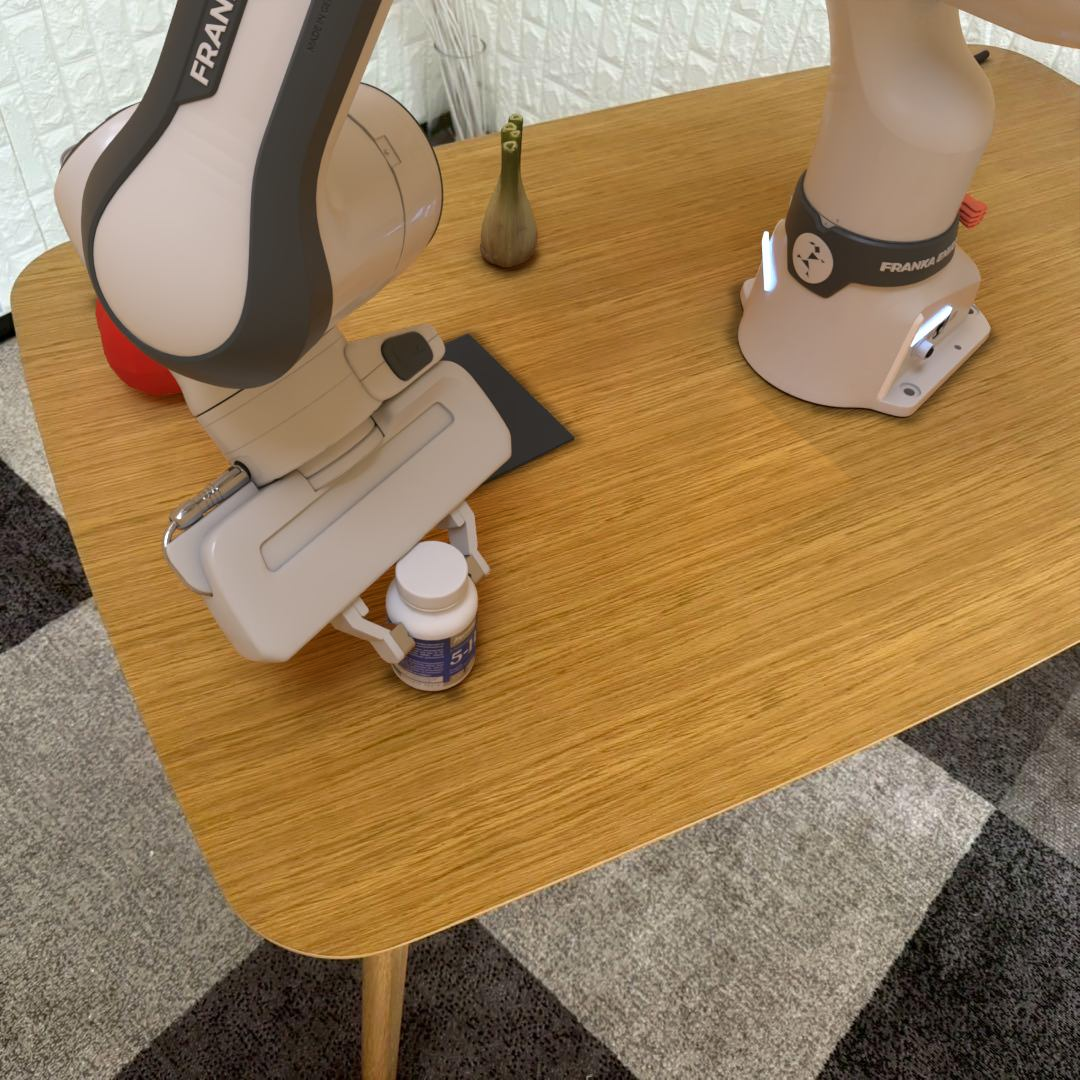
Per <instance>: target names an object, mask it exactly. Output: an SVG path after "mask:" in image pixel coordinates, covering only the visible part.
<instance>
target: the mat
mask: <svg viewBox="0 0 1080 1080" xmlns="http://www.w3.org/2000/svg"><path fill="white" fill-rule="evenodd" d="M444 346H445V354H444V356H443V357H442V358H441V359H440V360H439V361H451V362H454V363H456V364H458V365H459V366H461V367H462V368H464V369H465V370H466V371H467V372H468V373H469V374H470V375H471V376H472V378H473V379H474V380H475V381H476V383H477V384H478V385H479V386H480V388H481V389H482V390H483V392H484V393H485V394H486V396H487V397H488V399H489V400H490V401H491V403H492V404H493V406H494V407H495V409H496V410H497V412H498V413H499V415H500V416H501V418H502V419H503V421H504V423H505V424H506V426H507V428H508V430H509V432H510V435H511V450H512V451H511V457H510V458H509V459H508V460H507V461H506V462H505V463H504V464H503V465H502V466H501V467H500V468H498V469H497V470H496V471H495V472H494V473H493V474H492V475H491V476H490V477H489V478H488V479H486V480H485V481H484V482H483V483H482V484H481V485H480V486H479V487H478V488H480V487H482V486H484V485H486V484H488V483H490V482H492V481H494V480H496V479H498V478H500V477H502V476H504V475H506V474H508V473H510V472H513V470H516V469H518V468H521V467H523V466H524V465H526V464H528V463H530V462H533V461H534V460H536V459H538V458H541V457H542V456H544V455H546V454H549V453H551V452H553V451H555V450H557V449H559V448H561V447H563V446H564V445H567V444H569V443H571V442H573V441H575V436H574V435H573V434H572V432H570V431H569V430H568V429H567V428H566V427H565V426H564V425H563V424H562V423H561V422H560V421H559V420H558V419H557V418H556V417H555V416H554V415H552V413H551V412H550V411H549V410H548V409H546V407H544V406H543V405H542V403H540V401H538V399H536V397H534V396H533V394H532V393H530V392H529V391H528V390H527V389H526V388H525V387H524V386H523V385H522V383H520V382H519V381H518V380H517V379H516V378H515V377H514V376H513V375H512V374H511V373H510V371H508V370H506V368H505V367H503V365H502V364H501V363H500V362H499V361H498V360H497V359H496V358H494V356H493V355H492V354H490V353H489V351H488V350H486V349H485V348H484V346H482V345H481V344H480V343H479V341H477V340H476V339H475V338H474V337H473V336H472V335H471V334H470V333H466V334H464V335H461V336H459V337H457V338H454V339H452V340H450V341H447V342H445V343H444ZM439 361H438V362H439Z"/></svg>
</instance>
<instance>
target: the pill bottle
mask: <svg viewBox="0 0 1080 1080" xmlns="http://www.w3.org/2000/svg"><path fill="white" fill-rule="evenodd" d="M394 571H395V573H394V574H395V576H394V577H393V579H392V580H391V582H390V584H389V585H388V587H387V591H386V595H385V616H386V623H392V624H393V623H395V622H401V623H402V624H403V625H404V627H405V628H406V629H407V631H408V636H410V637H412V638H413V639H414V641H415V643H416V646H415V647H414V648H413V649H412V650H411V651H410V652H409V653H408V654H407V655H406V656H405V657H404V659H403V660H401V661H400V662H399V663H390V667H391V668H392V670H393V672H394V674H395V675H396V676H397V678H399V679H400V680H401V681H402V682H403V683H404V684H406V685H408V686H409V687H412V688H414V689H417V690H421V691H425V692H438V691H439V692H440V691H443V690H447V689H450V688H452V687H454V686H456V685H458V684H459V683H461V682H462V681H464V680H465V678H467V676H468V675H469V674H470V672H471V670H472V668H473V667H474V664H475V661H476V656H477V655H476V654H477V653H476V652H477V634H478V633H477V632H478V613H479V596H478V590H477V586H476V587H475V585H474V583H473V581H472V580H471V578H470V577H469V576H468V565H467V562H466V559H465V558H464V556H463V554H462V553H461V552H460V551H459V550H458V549H456V548H455V547H454V546H452V545H450V543H447V542H444V541H439V540H425V541H419V542H417V543H416V544H415V545H414V546H413V547H412V548H411V549H410V550H409V551H408V552H406V553H405V554H404V555H403V556H402V557H401V558H400V559H399V560H398V561H397V562H396V565H395V570H394Z"/></svg>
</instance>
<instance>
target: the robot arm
mask: <svg viewBox="0 0 1080 1080" xmlns="http://www.w3.org/2000/svg"><path fill="white" fill-rule="evenodd" d="M824 1H825V2H824V3H825V8H826V9H825V10H826V14H827V21H828V31H829V32H828V33H829V51H830V53H829V55H830V57H829V58H830V59H829V74H828V81H827V82H828V83H827V90H826V94H825V98H824V102H823V107H822V111H821V116H820V121H819V124H818V128H817V132H816V136H815V140H814V144H813V147H812V151H811V156H810V158H809V162H808V166H807V168H806V169H804V171H802V173H801V174H800V176H799V178H798V179H797V183H796V185H795V187H794V188H793V191H792V194H791V196H790V198H789V202H788V210H787V213H786V216H785V218H781V219H780V220H778V222H777V223H776V225H775V226H774V229H773V232H772V234H771V236H769V231H764V232H763V235H762V240H761V246H762V247H761V248H762V259H761V262H760V265H759V267H758V269H757V272H756V275H755V277H751V278H748V279H746V280H745V281H744V282H743V283H742V286H741V289H740V291H739V298H740V303H741V306H742V309H743V313H742V317H741V319H740V322H739V325H738V329H737V341H738V345H739V348H740V351H741V354H742V355H743V357H744V359H745V360H746V362H747V363H748V364H749V366H750V367H751V368H752V369H753V371H755V372H756V373H757V374H758V375H759V376H760V377H761V378H763V379H764V380H765V381H767V382H768V383H769V384H771V385H772V386H774V387H775V388H777V389H778V390H780V391H782V392H784V393H786V394H789V395H790V396H793V397H796V398H798V399H800V400H803V401H807V402H809V403H814V404H817V405H821V406H828V407H835V408H861V409H870V410H873V411H877V412H880V413H883V414H887V415H890V416H895V417H901V418H902V417H904V418H905V417H906V418H907V417H910V416H912V415H913V414H914V413H915V412H916V411H917V410H919V408H921V406H922V405H923V404H924V403H925V402H926V401H928V400H929V398H930V397H932V395H933V394H934V393H935V392H937V391H938V389H940V388H941V386H943V384H944V383H946V381H948V379H949V378H950V377H952V376H953V375H954V373H955V372H956V371H957V370H958V369H960V367H961V366H963V364H965V362H966V361H967V360H968V359H969V358H971V356H972V355H974V353H976V351H978V350H979V348H980V347H981V346H982V345H983V344H984V343H985V342H986V341H987V339H988V338H989V336H990V333H991V331H992V328H991V325H990V323H989V321H988V319H987V318H986V316H985V315H984V314H983V312H982V311H981V310H980V309H979V308H978V306H977V305H976V304H975V303H974V301H975V299H976V297H977V295H978V292H979V289H980V287H981V283H982V275H981V273H980V270H979V268H978V265H977V264H976V262H975V261H974V259H972V257H970V256H969V254H968V253H967V252H966V251H965V250H964V249H963V248H962V247H961V246H960V245H959V244H958V233H959V227H960V223H961V224H962V225H963V226H964V228H967V230H972V229H974V228H976V227H977V226H978V225H980V222H982V221H983V219H984V218H985V216H986V215H987V211H988V204H987V203H985V202H983V201H981V200H978V199H975V198H974V197H973V196H972V195H971V193H967V192H968V190H969V188H970V185H971V184H972V181H973V179H974V177H975V174H976V172H977V170H978V169H979V168H978V167H979V165H980V163H981V161H982V159H983V157H984V154H985V152H986V150H987V148H988V145H989V143H990V141H991V139H992V136H993V134H994V130H995V124H996V100H995V95H994V90H993V87H992V85H991V82H990V79H989V78H988V76H987V75H986V73H985V71H984V70H983V68H982V67H981V65H980V64H979V63H981V62H983V61H985V60H987V59H988V58H989V57H990V55H991V54H990V51H989V50H988V49H984V50H983V51H980V52H979V53H977V54H974V55H973V53H972V51H971V50H970V48H969V46H968V44H967V41H966V39H965V36H964V32H963V29H962V24H961V19H960V11H962V12H964V13H966V14H969V15H971V16H973V17H977V18H979V19H981V20H984V21H985V22H987V23H990V24H992V25H996V26H998V27H1000V28H1002V29H1004V30H1007V31H1010V32H1012V33H1014V34H1017V35H1019V36H1022V37H1024V38H1026V39H1029V40H1030V41H1033V42H1039V43H1044V44H1048V45H1054V46H1058V47H1059V46H1060V47H1064V48H1069V49H1075V50H1080V0H824ZM393 4H394V0H176V4H175V7H174V10H173V14H172V16H171V19H170V23H169V26H168V30H167V33H166V35H165V39H164V42H163V45H162V47H161V51H160V55H159V57H158V60H157V63H156V66H155V69H154V71H153V74H152V77H151V78H150V82H149V84H148V86H147V88H146V90H145V92H144V94H143V97H142V98H141V100H140V101H137V102H134V103H133V104H129V105H127V106H125V107H123V108H121V109H119V110H117V111H115V112H113V113H111V114H110V115H109V116H108V117H106V118H105V119H104V121H102V122H101V123H100V124H99V125H97V126H96V127H95V128H93V129H92V130H91V131H88V132H87V133H86V134H85V135H84V136H83V137H82V138H81V139H80V140H79V141H78V142H77V143H76V144H77V145H76V146H75V147H74V148H73V149H72V150H71V152H70V153H69V154H68V156H67V157H66V159H65V161H64V162H63V164H62V166H61V165H60V169H59V171H58V175H57V177H56V180H55V182H54V187H53V198H54V203H55V206H56V209H57V212H58V215H59V219H60V221H61V222H62V226H63V227H64V230H65V232H66V235H67V237H68V239H69V241H70V243H71V245H72V246H73V249H74V251H75V252H76V254H77V255H78V257H79V259H80V261H81V263H82V265H83V266H84V268H85V270H87V273H88V277H89V280H90V283H91V285H92V288H93V290H94V292H95V295H96V298H97V297H98V299H99V301H100V303H101V305H102V307H103V308H104V310H105V311H106V313H107V315H108V316H109V318H110V319H111V320H112V322H113V323H114V324H115V326H116V327H117V328H118V329H119V330H120V332H121V333H122V334H123V335H124V336H125V337H126V338H127V339H128V340H129V341H130V342H131V343H132V344H133V345H134V346H135V347H137V348H138V349H139V350H140V351H141V352H143V353H144V354H145V355H146V356H148V357H149V358H151V359H152V360H154V361H155V362H157V363H158V364H160V365H162V366H164V367H165V368H167V369H168V370H169V371H170V372H171V374H172V375H173V376H174V378H175V379H176V381H177V383H178V384H179V386H180V388H181V390H182V393H181V394H182V395H183V398H184V401H185V404H186V405H187V408H188V410H189V411H190V413H191V415H192V416H193V417H195V419H196V420H197V423H198V424H199V426H201V428H202V429H203V431H204V432H205V434H206V435H207V436H208V437H209V438H210V440H211V441H212V443H213V444H214V445H215V447H216V449H217V450H218V451H219V452H220V454H221V455H222V456H223V458H224V459H225V460H226V462H227V463H228V464H229V465H230V467H228V468H227V469H226V470H225V471H224V472H222V473H220V475H218V476H216V477H215V478H214V479H213V480H212V481H210V482H209V483H208V484H207V485H206V486H205V487H204V488H203V489H202V490H201V491H199V492H198V493H197V494H196V495H194V496H193V497H191V498H188V499H187V500H184V501H183V502H182V503H180V504H178V506H177V507H175V509H173V510H172V512H171V513H170V514H169V516H168V520H169V523H168V525H167V526H166V528H165V530H164V532H163V535H162V537H161V538H162V539H161V554H162V556H163V559H164V560H165V562H166V564H167V565H168V567H169V568H170V570H172V572H173V573H174V575H175V576H176V577H177V578H178V579H179V581H180V582H181V583H182V584H183V585H184V587H186V588H187V589H188V590H190V591H191V592H193V593H194V594H197V595H200V597H201V598H202V600H203V602H204V604H205V606H206V608H207V610H208V611H209V613H210V614H211V616H212V618H213V620H214V621H215V623H216V624H217V626H218V627H219V629H220V630H221V632H222V633H223V635H224V636H225V638H226V640H227V641H228V642H229V644H230V645H231V646H232V648H233V649H234V650H235V651H236V653H237V654H238V655H239V656H240V657H241V658H242V659H244V660H247V661H249V662H254V663H260V664H280V663H281V664H282V663H285V662H288V661H289V660H290V659H291V658H293V657H294V656H295V655H296V654H297V653H298V652H299V651H300V650H301V649H303V648H304V647H305V646H306V645H307V644H308V643H309V642H310V641H311V640H312V639H314V638H315V637H316V636H317V635H318V634H319V633H320V632H321V631H322V630H324V628H325V627H326V626H328V625H329V624H330V625H331V626H332V627H333V629H335V630H337V631H340V632H343V633H344V634H348V635H350V636H353V637H355V638H358V639H361V640H362V641H368V642H369V643H370V645H371V646H372V647H373V649H374V650H375V652H376V653H377V654H378V655H379V657H380V658H381V659H382V660H383V662H386V663H387V664H391V663H399V662H400V661H401V660H403V659H404V657H405V656H406V655H407V654H408V653H409V652H410V651H411V650H412V649H413V648H414V647H415V646H416V643H415V641H414V639H413V638H412V637H410V636H408V631H407V629H406V628H405V627H404V625H403V624H402V623H401V622H395V623H393V624H392V623H387V622H384V623H383V625H379V624H376V623H375V622H372V621H370V620H367V619H365V618H364V617H365V616H367V614H368V613H370V610H369V608H368V606H367V604H366V603H365V602H364V600H363V599H362V597H361V596H360V595H362V594H363V593H364V592H365V591H366V590H367V589H369V588H370V586H372V584H374V583H375V582H376V581H377V580H378V579H379V578H381V576H383V575H384V574H385V573H386V572H387V571H388V570H389V569H391V567H392V566H394V564H395V563H397V561H398V560H399V559H400V558H401V557H402V556H403V555H404V554H405V553H406V552H408V551H409V550H410V549H411V548H412V547H413V546H414V545H415V544H417V543H420V542H421V540H422V539H423V538H424V537H425V536H426V535H428V534H429V533H430V532H431V531H432V530H433V529H435V528H437V529H438V531H444V530H447V535H448V539H449V544H450V545H452V546H454V547H455V548H456V549H458V550H459V551H460V552H461V553H462V554H463V556H464V558H465V559H466V562H467V565H468V576H469V577H470V578H471V580H472V581H473V583H474V585H475V587H476V588H477V586H478V585H479V584H480V583H481V582H482V581H483V580H484V579H485V578H486V577H488V575H489V574H490V573H491V567H490V566H489V565H488V563H487V562H486V560H485V559H484V557H483V556H482V554H481V553H480V552H479V550H478V548H479V543H478V536H477V535H478V534H477V525H476V515H475V513H474V512H473V510H472V509H471V507H470V505H469V504H468V502H467V501H466V499H467V498H468V497H469V496H470V495H471V494H473V493H474V492H475V491H476V490H477V489H478V488H480V487H481V486H480V485H481V484H482V483H483V482H484V481H485V480H486V479H488V478H489V477H490V476H491V475H492V474H493V473H494V472H495V471H496V470H497V469H498V468H500V467H501V466H502V465H503V464H504V463H505V462H506V461H507V460H508V459H509V458H510V457H511V451H512V450H511V435H510V432H509V430H508V428H507V426H506V424H505V423H504V421H503V419H502V418H501V416H500V415H499V413H498V412H497V410H496V409H495V407H494V406H493V404H492V403H491V401H490V400H489V399H488V397H487V396H486V394H485V393H484V392H483V390H482V389H481V388H480V386H479V385H478V384H477V383H476V381H475V380H474V379H473V378H472V376H471V375H470V374H469V373H468V372H467V371H466V370H465V369H464V368H462V367H461V366H459V365H458V364H456V363H454V362H451V361H439V360H440V359H441V358H442V357H443V356H444V354H445V346H444V344H445V343H444V341H443V338H442V336H441V335H440V333H439V332H438V331H437V330H436V328H435V327H434V326H433V325H431V324H429V323H420V324H416V325H412V326H409V327H405V328H401V329H397V330H393V331H390V332H386V333H383V334H378V335H374V336H370V337H366V338H362V339H357V340H355V341H352V342H351V341H350V340H348V339H347V338H346V336H345V335H344V334H343V332H342V330H341V329H340V327H339V326H338V325H339V324H340V323H341V322H343V321H344V320H345V319H346V318H348V317H349V316H351V315H352V314H353V313H354V312H356V311H357V310H359V309H360V308H361V307H363V306H364V305H366V304H367V303H368V302H370V300H372V299H373V298H374V297H376V296H377V295H378V294H379V293H380V292H381V291H382V290H383V289H384V288H386V287H387V286H388V285H390V284H391V283H392V282H394V281H395V280H396V279H397V278H399V277H400V276H402V275H403V274H404V273H406V271H408V270H409V269H410V268H411V267H412V266H413V265H414V264H415V263H416V261H417V260H418V259H419V258H420V257H421V255H422V254H423V252H424V251H425V249H426V248H427V247H428V245H429V244H430V243H431V242H432V240H433V238H434V237H435V235H436V233H437V230H438V228H439V225H440V222H441V218H442V213H443V208H444V183H443V175H442V171H441V167H440V163H439V160H438V156H437V153H436V151H435V150H434V147H433V144H432V141H430V138H429V136H428V135H427V133H426V131H425V129H424V128H423V127H422V126H421V124H420V123H419V121H418V120H417V118H415V116H414V115H413V114H412V113H411V112H410V111H409V110H408V109H407V108H406V107H405V105H403V104H402V103H401V102H400V101H399V100H398V99H397V98H395V97H394V96H392V95H391V94H389V93H388V92H386V91H385V90H383V89H381V88H379V87H377V86H374V85H372V84H369V83H367V82H363V81H362V80H363V77H364V75H365V72H366V70H367V67H368V65H369V62H370V60H371V58H372V55H373V52H374V50H375V47H376V45H377V43H378V40H379V37H380V35H381V33H382V30H383V28H384V25H385V22H386V20H387V17H388V16H389V12H390V10H391V8H392V5H393ZM769 237H770V238H769ZM438 361H439V362H438ZM479 486H480V487H479ZM176 530H177V531H181V532H180V533H178V534H177V535H176V536H175V537H173V535H174V533H175V531H176Z"/></svg>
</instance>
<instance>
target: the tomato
mask: <svg viewBox="0 0 1080 1080" xmlns="http://www.w3.org/2000/svg"><path fill="white" fill-rule="evenodd" d="M94 314H95V319H96V325H97V328H98V331H99V333H100V340H101V345H102V351H103V354H104V357H105V359H106V360H107V362H108V366H109V367H110V368H111V369H112V371H113V372H114V373H115V374H116V376H117V377H118V378H119V379H120V380H121V381H122V382H123V383H124V384H125V385H126V386H127V387H128V388H130V389H133V390H136V391H139V392H141V393H145V394H147V395H149V396H154V397H155V396H156V397H159V396H167V395H174V394H183V393H182V390H181V388H180V386H179V384H178V383H177V381H176V379H175V378H174V376H173V375H172V374H171V372H170V371H169V370H168V369H167V368H165V367H164V366H162V365H160V364H158V363H157V362H155V361H154V360H152V359H151V358H149V357H148V356H146V355H145V354H144V353H143V352H141V351H140V350H139V349H138V348H137V347H135V346H134V345H133V344H132V343H131V342H130V341H129V340H128V339H127V338H126V337H125V336H124V335H123V334H122V333H121V332H120V330H119V329H118V328H117V327H116V326H115V324H114V323H113V322H112V320H111V319H110V318H109V316H108V315H107V313H106V311H105V310H104V308H103V307H102V305H101V303H100V301H99V299H98V297H97V296H96V307H95V313H94Z"/></svg>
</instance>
